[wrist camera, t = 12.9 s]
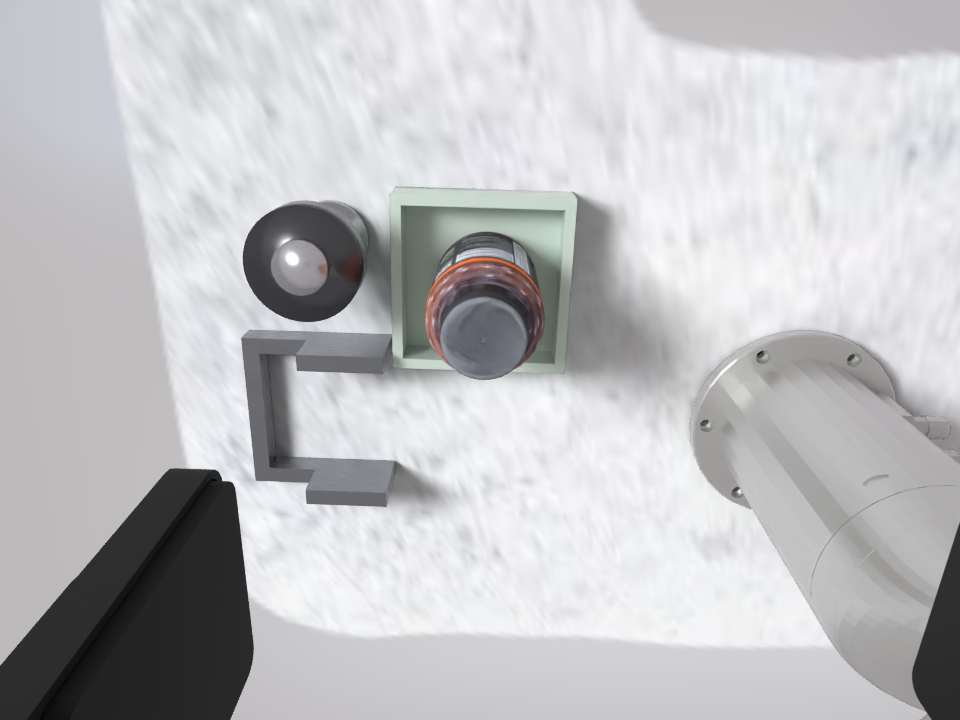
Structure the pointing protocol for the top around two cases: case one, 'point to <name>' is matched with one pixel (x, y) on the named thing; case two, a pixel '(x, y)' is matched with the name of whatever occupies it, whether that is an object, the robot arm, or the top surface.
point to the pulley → (307, 259)
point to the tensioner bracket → (318, 354)
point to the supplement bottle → (485, 306)
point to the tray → (457, 213)
